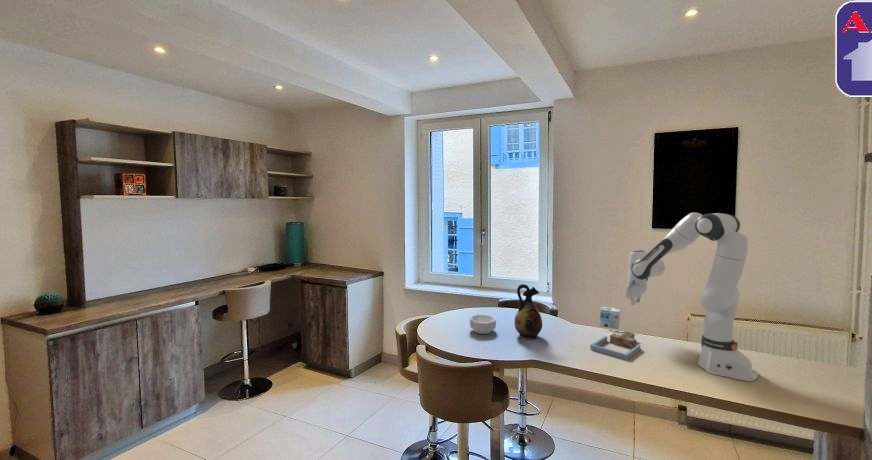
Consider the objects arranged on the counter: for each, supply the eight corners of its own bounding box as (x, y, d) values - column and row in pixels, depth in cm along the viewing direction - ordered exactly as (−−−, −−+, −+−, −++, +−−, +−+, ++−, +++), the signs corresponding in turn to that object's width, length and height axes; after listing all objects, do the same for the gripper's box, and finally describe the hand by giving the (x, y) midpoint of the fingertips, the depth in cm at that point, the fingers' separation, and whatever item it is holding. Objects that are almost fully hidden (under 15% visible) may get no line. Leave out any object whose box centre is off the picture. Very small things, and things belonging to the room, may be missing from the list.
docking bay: (640, 350, 207) (640, 345, 207) (626, 360, 195) (627, 355, 195) (604, 340, 220) (605, 336, 220) (590, 349, 209) (590, 344, 208)
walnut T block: (641, 342, 217) (642, 335, 217) (633, 348, 209) (633, 341, 208) (619, 336, 226) (619, 329, 225) (609, 342, 217) (610, 335, 217)
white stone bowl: (497, 335, 229) (497, 322, 228) (470, 336, 230) (470, 322, 229) (494, 326, 244) (494, 314, 244) (469, 326, 245) (469, 314, 244)
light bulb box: (599, 326, 242) (600, 309, 241) (600, 323, 248) (601, 306, 247) (618, 329, 237) (619, 311, 236) (619, 325, 243) (620, 308, 242)
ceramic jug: (539, 331, 235) (540, 281, 231) (544, 342, 219) (545, 288, 216) (510, 331, 236) (510, 281, 233) (512, 341, 221) (513, 288, 218)
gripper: (635, 283, 212) (634, 308, 214) (649, 277, 226) (648, 300, 228) (622, 281, 217) (622, 306, 218) (637, 275, 231) (636, 298, 232)
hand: (635, 303), depth 223 cm, fingers open, 5 cm apart
